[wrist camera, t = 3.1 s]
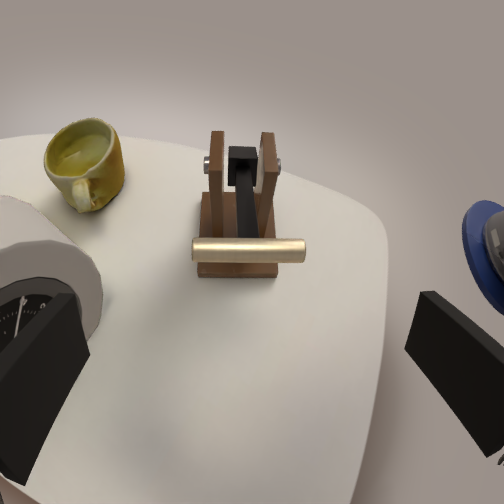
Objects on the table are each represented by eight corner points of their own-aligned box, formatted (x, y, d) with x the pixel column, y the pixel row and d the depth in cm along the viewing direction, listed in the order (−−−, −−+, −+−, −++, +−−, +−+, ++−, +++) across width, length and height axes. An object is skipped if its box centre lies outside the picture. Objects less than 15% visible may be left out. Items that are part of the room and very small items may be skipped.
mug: (58, 155, 35) (51, 109, 27) (125, 156, 40) (132, 110, 31) (46, 237, 32) (27, 203, 23) (121, 238, 36) (124, 204, 28)
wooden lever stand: (276, 277, 32) (303, 204, 20) (198, 277, 31) (183, 202, 20) (270, 199, 36) (288, 113, 25) (203, 198, 36) (196, 110, 24)
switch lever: (302, 276, 16) (309, 238, 14) (193, 276, 15) (190, 236, 14) (273, 173, 26) (275, 147, 24) (208, 172, 25) (208, 145, 24)
